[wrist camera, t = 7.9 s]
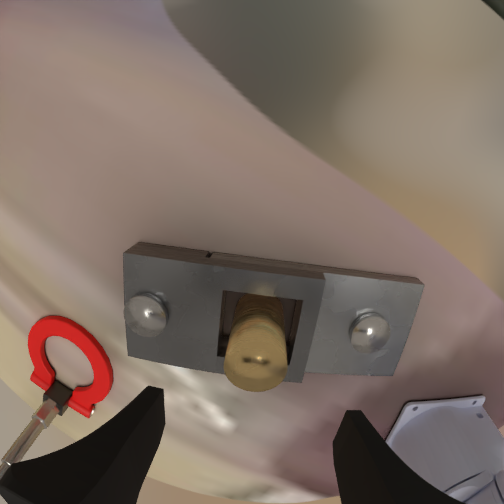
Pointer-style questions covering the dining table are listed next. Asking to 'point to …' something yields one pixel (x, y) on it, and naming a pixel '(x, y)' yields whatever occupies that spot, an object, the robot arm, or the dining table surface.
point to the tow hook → (56, 393)
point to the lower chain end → (353, 318)
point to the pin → (257, 344)
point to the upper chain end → (206, 305)
